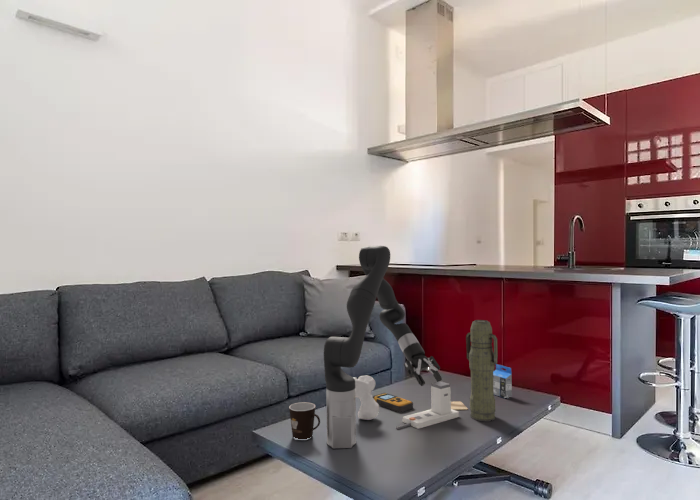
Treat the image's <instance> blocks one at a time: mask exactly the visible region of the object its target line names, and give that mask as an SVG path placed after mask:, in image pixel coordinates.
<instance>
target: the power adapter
mask: <svg viewBox="0 0 700 500" xmlns="http://www.w3.org/2000/svg"><path fill="white" fill-rule="evenodd" d="M430 385H431V386H430V394H431V395H430V404H431V405H430V409H431V412H433V413H436V414H438V415H441V416H442V415H445V414H449V413H451V402H452V400H451V399H452V398H451V395H452V394H451V391H452V388H451V383H448V382H444V381H443V380H441V381H439V382H437V381H436V382H431V384H430Z"/></svg>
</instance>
